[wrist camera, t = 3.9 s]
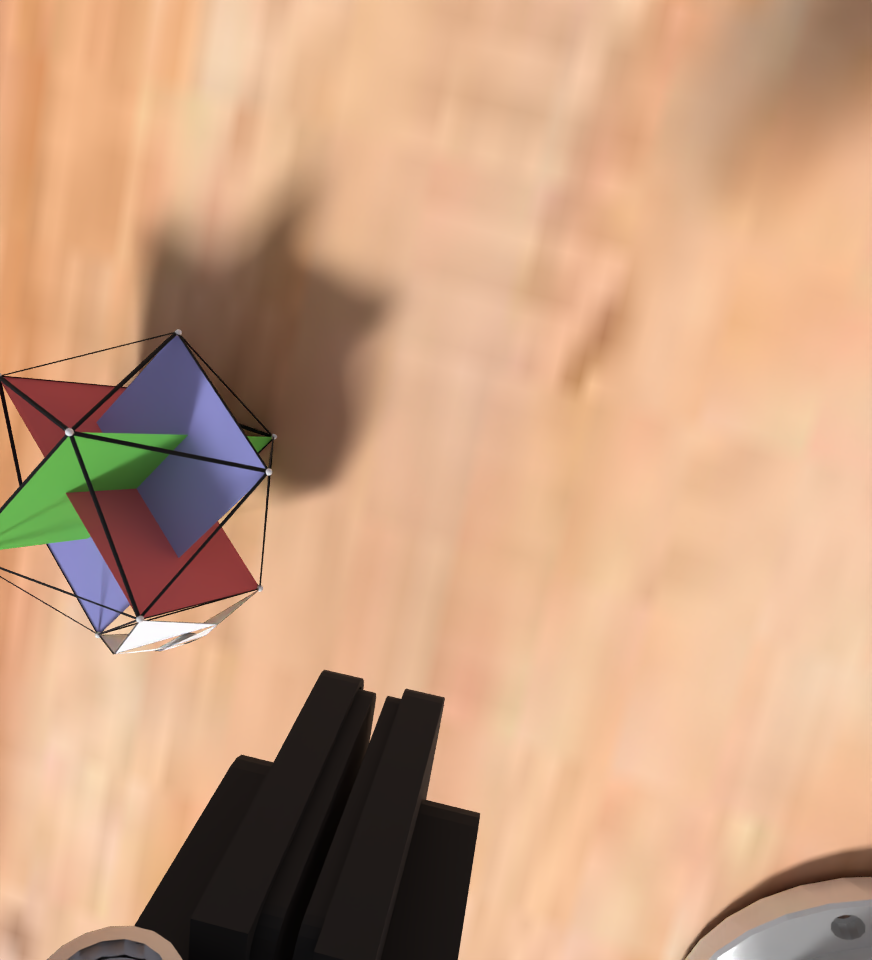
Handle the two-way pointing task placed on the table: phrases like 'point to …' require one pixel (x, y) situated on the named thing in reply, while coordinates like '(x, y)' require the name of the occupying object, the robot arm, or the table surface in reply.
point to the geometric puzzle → (137, 493)
